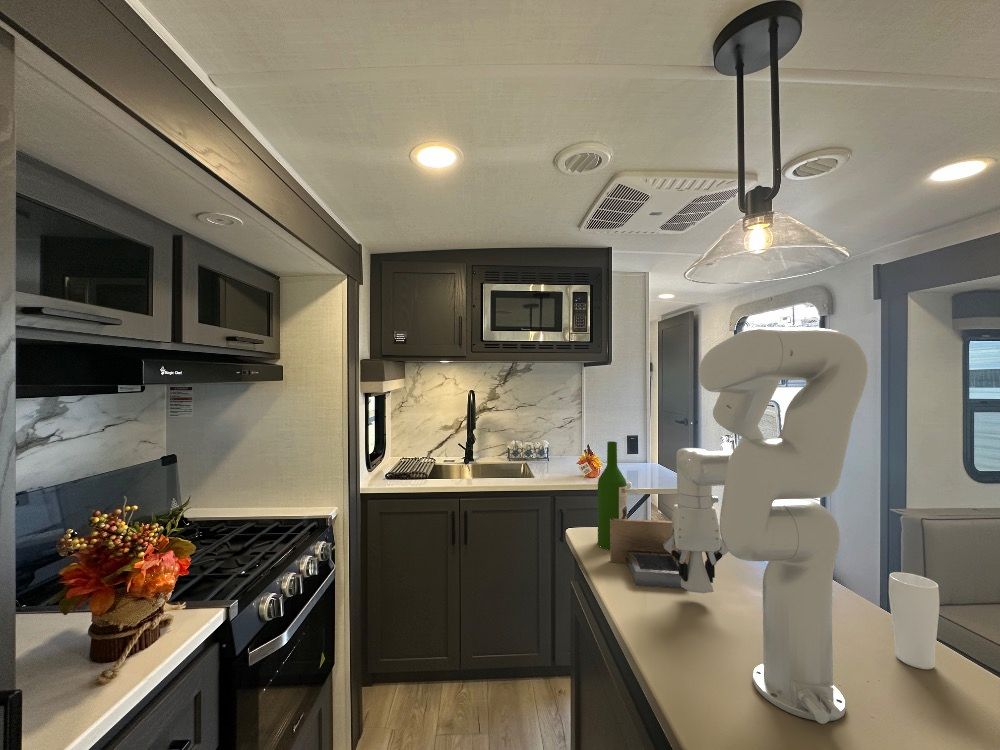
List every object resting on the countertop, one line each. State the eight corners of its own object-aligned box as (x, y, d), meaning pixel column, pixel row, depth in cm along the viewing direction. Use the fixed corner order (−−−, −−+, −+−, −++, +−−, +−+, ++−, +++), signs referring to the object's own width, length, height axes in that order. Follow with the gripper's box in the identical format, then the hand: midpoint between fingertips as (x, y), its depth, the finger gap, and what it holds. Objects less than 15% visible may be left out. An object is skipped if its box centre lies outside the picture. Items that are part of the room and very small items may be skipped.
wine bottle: (621, 552, 132) (621, 444, 133) (593, 546, 137) (593, 442, 138) (630, 544, 140) (630, 441, 140) (603, 538, 145) (603, 439, 145)
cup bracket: (708, 589, 109) (708, 541, 109) (617, 584, 111) (617, 536, 112) (690, 564, 124) (690, 522, 124) (610, 560, 127) (610, 518, 127)
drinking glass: (880, 650, 84) (879, 571, 84) (916, 651, 84) (915, 571, 84) (912, 673, 77) (910, 587, 78) (951, 674, 77) (950, 588, 77)
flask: (719, 594, 99) (718, 549, 100) (687, 594, 99) (686, 549, 100) (705, 581, 106) (704, 539, 107) (675, 581, 106) (674, 539, 107)
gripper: (726, 498, 107) (728, 575, 105) (653, 496, 109) (655, 571, 108) (739, 505, 99) (741, 588, 98) (660, 503, 101) (662, 584, 100)
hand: (696, 579), depth 103 cm, fingers closed on flask, 4 cm apart
